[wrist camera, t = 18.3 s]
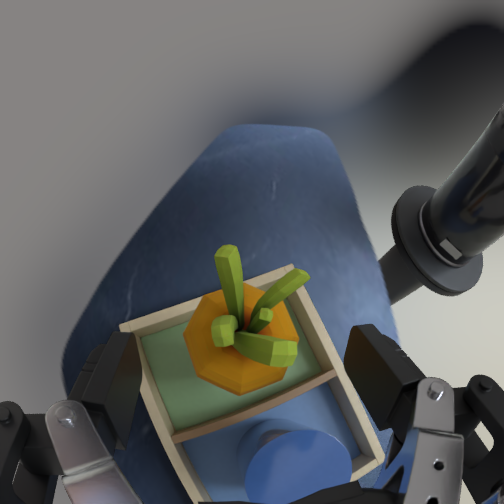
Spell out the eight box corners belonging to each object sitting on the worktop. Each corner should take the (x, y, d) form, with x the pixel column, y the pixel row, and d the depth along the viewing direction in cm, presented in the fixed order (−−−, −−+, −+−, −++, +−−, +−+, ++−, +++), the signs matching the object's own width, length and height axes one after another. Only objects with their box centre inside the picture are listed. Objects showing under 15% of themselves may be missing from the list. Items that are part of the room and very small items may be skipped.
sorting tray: (284, 278, 25) (292, 263, 22) (368, 454, 18) (387, 459, 16) (130, 333, 21) (118, 324, 19) (217, 524, 14) (217, 540, 12)
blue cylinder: (295, 405, 19) (329, 410, 13) (325, 465, 17) (366, 488, 11) (223, 436, 18) (225, 457, 12) (255, 497, 16) (271, 535, 9)
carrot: (200, 327, 22) (174, 218, 8) (264, 331, 22) (336, 231, 9) (196, 390, 19) (151, 393, 6) (262, 393, 20) (349, 397, 6)
